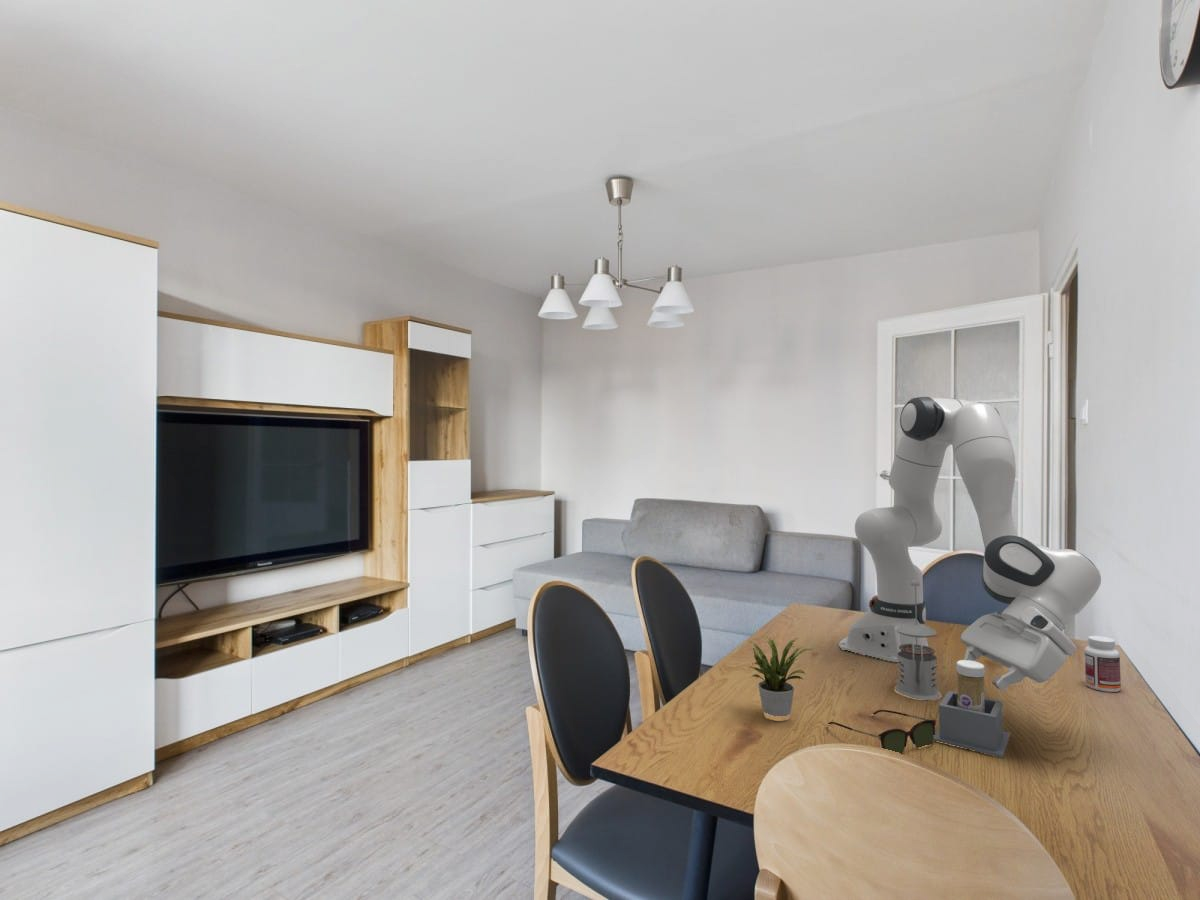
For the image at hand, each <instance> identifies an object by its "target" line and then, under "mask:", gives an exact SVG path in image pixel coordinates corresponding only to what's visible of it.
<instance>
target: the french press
mask: <svg viewBox="0 0 1200 900" xmlns="http://www.w3.org/2000/svg"><path fill="white" fill-rule="evenodd" d="M911 585H912V586H915V613H916V623H907V624H904V625H901V626H899V627H898V628H897V629H896V630H897V632H898V633H900V634H902V635H906V636H910V637H916V644H914V642H912V644H908V645H907V644H904V645H900V647H899V648H900V650H901V651H900V652H898V653H897V659H898V660H899V661H900V662H897V666H898V667H897V671H898V673H897V677H898V678H897V685H895V686H896V687H895V686H894V688H895V689H896V691H898V692H899V693H901V694H903V695H906V696H909V697H912V698H916V699H923V700H933V699H938V698H941V696H942V695H943V694H942V692H940V690H939V689H938V683H937V682H938V677H937V676H938V672H937V670H938V666H937V664H938V659H937V656H935V655H934V653H935V651H936V650H935V649H934V648H932V647H930V646H928V647H926V646H922V642H921V645H917V637H918V638H927V639H928V638H932V637H935V636H936V635H937V633H938V632H937V631H936V630H935V629H933V628H932V627H931V626H928V625H926V624H925V625H923V624H919V623H917V606H916V586H920V582H919V581H917V580H913V581H911ZM899 667H900V668H899ZM899 673H900V674H899ZM942 697H943V696H942ZM941 699H942V698H941Z"/></svg>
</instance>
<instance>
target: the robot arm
mask: <svg viewBox="0 0 1200 900" xmlns="http://www.w3.org/2000/svg"><path fill="white" fill-rule="evenodd" d="M899 425H900V428H901V431H902V432H903V433H902V436H901V438H900V440H899V442H898V445H897V448H896V451H895V454H894V458H893V463H892V465H891V469H890V472H889V475H888V484H889V486H890V488H891V489H892V490H894V492H895V503H894V504H893V506H889V507H888V506H887V507H886V506H885V507H876V508H873V509H870V510H867V511H864V512H862V513H861V514H859V515H858V517H857V518H856V520H855V523H854V533H855V536H856V538H857V540H858V542H859V543H860V544H861V545H862V546H863V547H865V548H866V550H867V551H868V553H869V554H870V555H871V558H872V561H873V564H874V567H875V575H876V576H875V577H876V592H877V595H874V596H872V597H871V599H870V600H869V602H868V607H869V611H868V612H866V613H864V614H863V615H862V616H860V617H859V618H857V619H856V620H854V621H853V622H852V623H851V624H850V626H849V629H848V633H847V637H844V638H842V639H841V640H840V641H839V644H838V647H840V648H841V649H844V650H848V651H852V652H855V653H854V654H856V653H860V654H864V655H863V656H865V655H869V656H872V657H871V658H873V657H876V658H875V659H877V658H880V659H879V660H881V659H883V660H882V661H885V660H888V661H887V662H890V661H892V662H891V663H898V662H899V663H901V662H900V661H899V660H898V659H897V653H898V652H900V651H901V650H900V648H899V647H900V645H904V644H907V645H908V644H912V642H914V644H916V637H910V636H906V635H902V634H900V633H898V632H897V630H896V629H897V628H898V627H899V626H901V625H904V624H907V623H916V613H915V586H912V585H911V581H913V580H917V581H919V582H920V586H916V606H917V623H919V624H923V625H926V621H927V609H926V602H925V601H924V586H923V585H924V581H923V580H924V579H923V572H922V570H921V569H920V568H919V567H918V566H917V565H915V564H914V563H913V561H912V559H911V556H910V553H909V548H914V547H921V546H925V545H927V544H930V543H932V542H934V541H936V540H937V539H938V538H939V537H940V536H941V534H942V531H943V524H942V519H941V517H940V516H939V514H938V513H937V512H936V509H935V490H936V487H937V483H938V479H939V477H940V472H941V468H942V466H943V463H944V462H943V461H944V458H945V454H946V451H947V449H948V447H949V446H951V445H952V451H953V455H954V460H955V463H956V466H957V469H958V472H959V474H960V477H961V479H962V481H963V484H964V487H965V489H966V490H967V492H968V495H969V497H970V500H971V502H972V505H973V507H974V510H975V511H976V515H977V518H978V523H979V527H980V532H981V536H982V537H981V538H982V541H983V545H984V552H983V553H984V555H983V570H982V575H981V583H982V586H983V589H984V590H985V592H986V593H987V595H989V596H991V598H992V599H994V600H996V601H998V602H1000V603H1003V604H1007V607H1006V608H1005V609H1004V610H1003V611H1002V612H998V611H994V612H992V613H987V614H984V615H982V616H980V617H979V618H977V619H975V621H974V622H973V623H971V624H970V625H969V626H968V627H966V628H965V630H964V631H962V633H961V635H960V641H962V643H963V644H964V645H965V646H966V647H967V648H966V650H965V654H964V659H963V660H971V661H976V660H977V659H978V660H979V659H980V658H981V657H982V656H984V657H986V658H987V659H989V660H991V661H994V662H995V663H998V664H999V665H1001V666H1004V667H1005V668H1008V672H1006V673H1005V674H1003V675H1001V676H1000V675H997V676H996V677H995V678H994V679H993V680H992V685H994V686H995V687H996V689H999V690H1001V691H1003V692H1004V691H1006V690H1007V689H1008V688H1009V687H1010V686H1012V685H1014V684H1017V683H1019V682H1021V681H1023V679H1024V678H1028V679H1030V680H1032V681H1035V682H1036V683H1039V684H1040V683H1045V682H1047V681H1049V680H1050V679H1052V677H1054V675H1055V674H1056V673H1057V672H1058V671H1059V670H1060V669H1061V667H1063V666H1064V664H1065V662H1066V660H1067V656H1071V655H1073V654H1074V653H1075V652H1076V651H1077V648H1078V647H1077V645H1076V644H1074V643H1073V641H1072V640H1071V639H1070V638H1069V637H1068V636H1067V635H1066V634H1065V633H1064V632H1063V631H1065V629H1066V627H1067V626H1068V623H1069V621H1070V620H1071V618H1073V617H1074V616H1076V615H1077V614H1079V613H1080V612H1082V611H1083V609H1084V608H1085V607H1086V606H1087V605H1088V603H1089V602H1090V601H1091V600H1092V599H1093V597H1094V596H1095V595H1096V593H1097V592H1098V590H1099V588H1100V586H1101V583H1102V576H1101V573H1100V571H1099V569H1098V568H1097V565H1095V564H1094V562H1092V561H1091V560H1090V559H1089V558H1088V557H1087V556H1086V555H1084V554H1083V553H1081V552H1079V551H1076V550H1075V549H1071V548H1065V549H1064V548H1054V547H1053V548H1052V547H1047V546H1044V545H1041V544H1038V543H1035V542H1032V541H1029V540H1028V539H1025V538H1024V537H1021V536H1018V535H1017V531H1016V527H1015V523H1014V519H1013V512H1012V510H1013V508H1012V504H1013V503H1012V501H1013V493H1014V490H1015V489H1014V488H1015V481H1016V475H1017V474H1016V471H1017V469H1016V455H1015V450H1014V447H1013V443H1012V441H1011V437H1010V435H1009V431H1008V429H1007V427H1006V425H1005V423H1004V421H1003V419H1002V417H1001V414H1000V412H999V410H998V409H997V408H995V407H993V406H992V405H990V404H988V403H984V402H980V401H979V402H975V401H971V400H967V399H961V398H954V397H952V398H945V397H930V396H917V397H913V398H911V399H909V400H908V401H907V402H906V403H905V404H904V406H903V408H902V410H901V412H900V417H899ZM921 642H922V646H926V647H929V644H928V637H927V638H918V637H917V645H921ZM840 648H839V649H840ZM841 649H840V650H841ZM844 650H843V651H844ZM848 651H847V652H848ZM852 652H851V653H852ZM860 654H859V655H860ZM869 656H868V657H869Z"/></svg>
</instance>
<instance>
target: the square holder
mask: <svg viewBox="0 0 1200 900" xmlns="http://www.w3.org/2000/svg"><path fill="white" fill-rule="evenodd" d="M942 698H943V699H942V700H941V702H940V703H939V704H938V713H939V714H938V715H939V717H938V718H939V727H938V728H937V730H936V731H935V735H934V739H933V740H935V741H939V742H943V743H947V744H951V745H955V746H959V747H963V748H967V749H971V750H975V751H978V752H982V753H986V754H989V755H988V756H990V755H994V756H997V757H996V758H998V757H1001V758H1000V759H1004V757H1005V754H1006V751H1007V748H1008V745H1009V741H1010V739H1009V738H1011V732H1008V731H1004V707H1003V706H1004V705H1003V704H1004V702H1003V700H998V699H992V698H989V697H988V698H987V697H984V709H985V713H983V712H979V711H974V710H969V709H964V708H959V707H957V698H958V691H951V690H947V692H946V693H945V695H944V696H943V697H942ZM1006 747H1007V748H1006ZM978 752H977V753H978ZM982 753H981V754H982ZM1004 753H1005V754H1004ZM986 754H985V755H986ZM994 756H993V757H994ZM1003 756H1004V757H1003Z"/></svg>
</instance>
